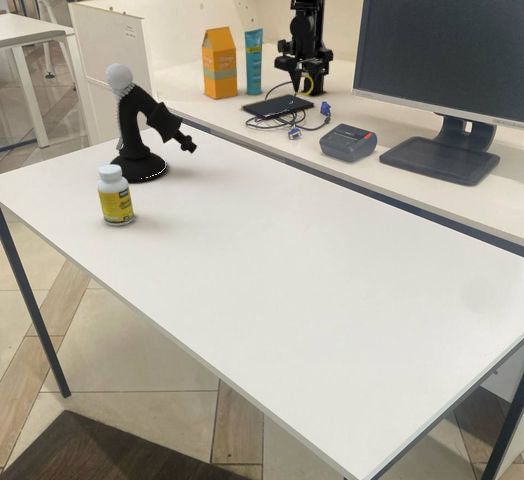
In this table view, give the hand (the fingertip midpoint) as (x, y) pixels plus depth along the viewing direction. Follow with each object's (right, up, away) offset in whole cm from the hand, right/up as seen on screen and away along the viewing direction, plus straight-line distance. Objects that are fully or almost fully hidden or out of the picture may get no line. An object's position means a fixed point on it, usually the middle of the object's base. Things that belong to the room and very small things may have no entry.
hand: (303, 90), depth 160 cm
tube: (-15, +11, +24) cm, 31 cm away
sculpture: (-40, -33, -23) cm, 57 cm away
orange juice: (-27, +10, +23) cm, 37 cm away
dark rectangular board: (-7, 0, +12) cm, 14 cm away
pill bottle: (-44, -50, -43) cm, 79 cm away
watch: (0, -1, +1) cm, 1 cm away
